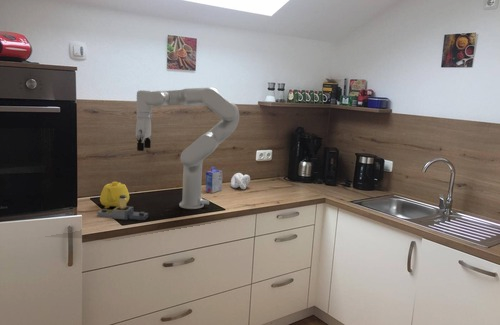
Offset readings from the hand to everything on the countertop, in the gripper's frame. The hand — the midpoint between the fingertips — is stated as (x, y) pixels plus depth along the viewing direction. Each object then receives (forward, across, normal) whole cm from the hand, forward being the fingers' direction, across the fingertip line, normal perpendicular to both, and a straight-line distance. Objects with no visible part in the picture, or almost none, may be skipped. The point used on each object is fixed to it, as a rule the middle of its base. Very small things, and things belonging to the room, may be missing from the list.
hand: (144, 149), depth 211 cm
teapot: (+29, +10, -11) cm, 32 cm away
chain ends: (+28, +24, -1) cm, 37 cm away
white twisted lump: (+29, -48, +45) cm, 72 cm away
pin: (+28, +24, -1) cm, 37 cm away
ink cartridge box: (+29, -36, +30) cm, 55 cm away
